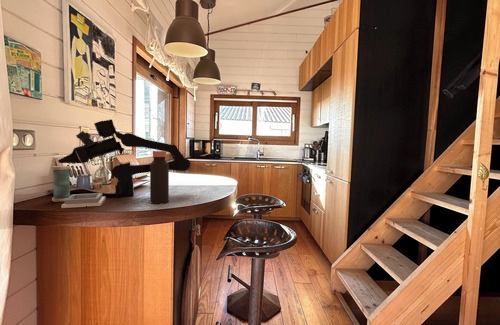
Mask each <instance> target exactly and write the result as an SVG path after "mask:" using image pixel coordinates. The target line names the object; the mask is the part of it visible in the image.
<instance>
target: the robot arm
mask: <svg viewBox="0 0 500 325" xmlns="http://www.w3.org/2000/svg"><path fill="white" fill-rule="evenodd" d="M93 125H94V127H95V129H96V131H97V135H98V136H99V137H102V139H103V140H100V141H99V140H97V141H95V140H94V139H93V138H92V135H91V134H90V133H89V132H86V131H85V130H82V131H80V132H79V133H78V134H76V135H75V136H76V138H77V139H78V140H80V141H81V142H82V143H83V145H80V146H76V147H74V148H73V149H72V152H71V153H69V154H68V155H66V156H64V157H62V158H59V159H58V160H57V161H58V163H59V164H85V163H87V162H89V161H90V160H93V159H95V158H98V157H103V156H106V155H108V154H111V153H114V152H117V151H118V152H119V155H122V154H123V152H124V150H125V147H128V148H145V149H150V150H151V149H152V150H155V151H166V153H169V154H170V155H171V157H172V158H173V159H171V160H168V161H166V162H167V163H168V164H169V171H176V172H177V171H181V172H182V171H183V172H184V171H188V170H189V169H190V167H191V163H190V160H189V159H187V158H185V157H184V155H183V154H182V152H181V151H180V150H179V148H178V147H177V145H176V144H172V143H170V144H169V143H166V142H159V141H155V140H150V139H146V138H144V137H141V136H139V135H135V134H133V133H130V132H127V133H126V132H125V133H121V132H120V131H117V129H116V127H115V126H114V122H113V119H106V120H101V121H100V120H99V121H97V122H94V123H93ZM109 137H110V138H109ZM115 137H116V138H115ZM105 138H106V139H105ZM117 139H118V140H119V141H117ZM122 145H123V146H124V147H123V146H122ZM151 163H152V162H150V163H139V164H131V161H130V160H129V161H125V162H122V161H120V162H119V163H117V164H115V165H114V166H113V168H112V170H111V173H112V174H111V175H112V176H113V177H114V178H115V179H117V181H116V184H115V186H114V187H115V195H116V197H118V198H119V197H132V196H134V194H135V192H134V179H133V178H134V175H137V174H138V175H139V174H145V173H150V164H151Z"/></svg>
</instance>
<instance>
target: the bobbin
mask: <svg viewBox="0 0 500 325" xmlns="http://www.w3.org/2000/svg"><path fill="white" fill-rule="evenodd" d="M71 167H72V166H70V165H57V166H56V165H54V166H50V168H51V170H52V176H53V177H52V183H53V197H52V198H51V200H52V202H54V203H55V202H58V203H60V202H61V203H62V202H65V200H66V199H67V198H68V197H70V196H71V189H70V188H71V186H70V170H71Z"/></svg>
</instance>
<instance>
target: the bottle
mask: <svg viewBox="0 0 500 325" xmlns="http://www.w3.org/2000/svg"><path fill="white" fill-rule="evenodd" d="M166 158H167V152H166V151H161V150H152V159H153V160H152V161H151V162H150V163H151V164H150V172H149V174H150V175H149V188H150V189H149V191H150V192H149V197H150V198H149V200H150V201H149V202H150V203H151V204H153V205H154V204H155V205H161V204H160V203H163V204H167V203H168V202H169V197H170V196H169V195H170V193H169V192H170V191H169V190H170V188H169V187H170V186H169V185H170V182H169V181H170V179H169V176H170V175H169V174H170V173H169V172H170V170H169V164H168V163H167V162H168V161H166ZM166 202H167V203H166Z"/></svg>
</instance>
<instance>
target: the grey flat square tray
mask: <svg viewBox="0 0 500 325" xmlns="http://www.w3.org/2000/svg"><path fill="white" fill-rule="evenodd" d="M105 200H106V196H105V195H104V196H103V193H102V192H98V193H97V192H96V193H95V192H94V193H78V194H70V197H68V198H67V199H66V200H65V201H64V203H62V204H61V209H68V208H69V209H70V208H71V209H72V208H85V207H86V206H87V207H99V206H102V205H103V203H104V202H105Z"/></svg>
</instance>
